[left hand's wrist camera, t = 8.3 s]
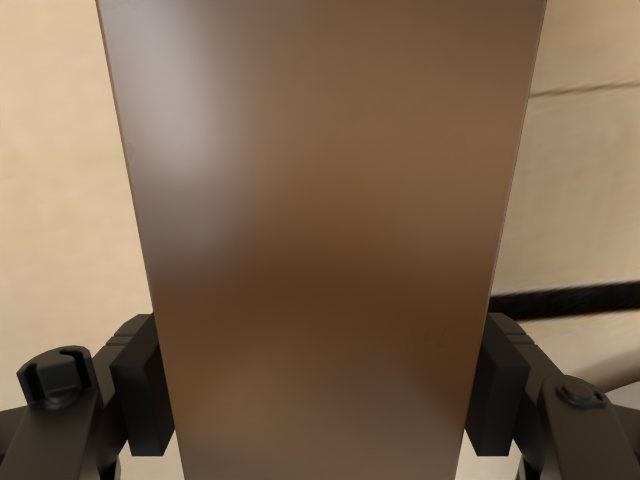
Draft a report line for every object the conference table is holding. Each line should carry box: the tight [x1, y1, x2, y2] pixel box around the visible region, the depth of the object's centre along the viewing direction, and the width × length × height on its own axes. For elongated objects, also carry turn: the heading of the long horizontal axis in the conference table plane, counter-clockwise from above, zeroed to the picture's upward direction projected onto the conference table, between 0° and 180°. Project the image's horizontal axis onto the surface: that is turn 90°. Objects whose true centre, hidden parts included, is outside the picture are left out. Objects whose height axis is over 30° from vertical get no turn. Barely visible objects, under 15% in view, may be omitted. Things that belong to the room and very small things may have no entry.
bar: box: [95, 0, 547, 480], centre depth 9 cm, size 22×6×9 cm, turn 0°
